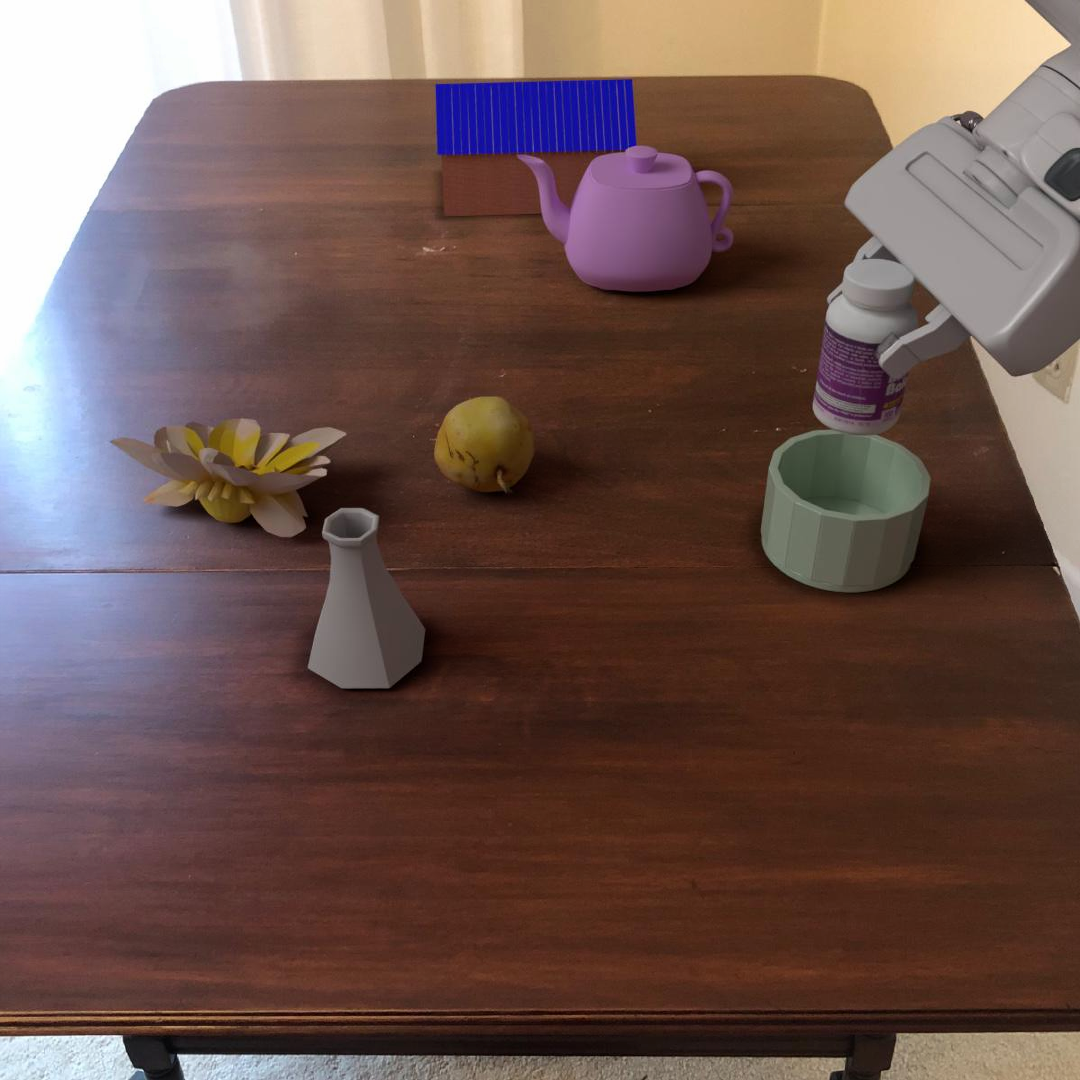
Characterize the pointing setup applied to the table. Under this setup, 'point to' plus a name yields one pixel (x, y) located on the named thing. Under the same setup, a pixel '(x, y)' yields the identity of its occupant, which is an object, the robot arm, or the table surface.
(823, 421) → the pill bottle
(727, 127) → the table surface
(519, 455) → the fruit
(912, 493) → the crock
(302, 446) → the decorative flower
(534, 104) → the house
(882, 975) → the table surface
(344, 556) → the flask
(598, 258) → the teapot
